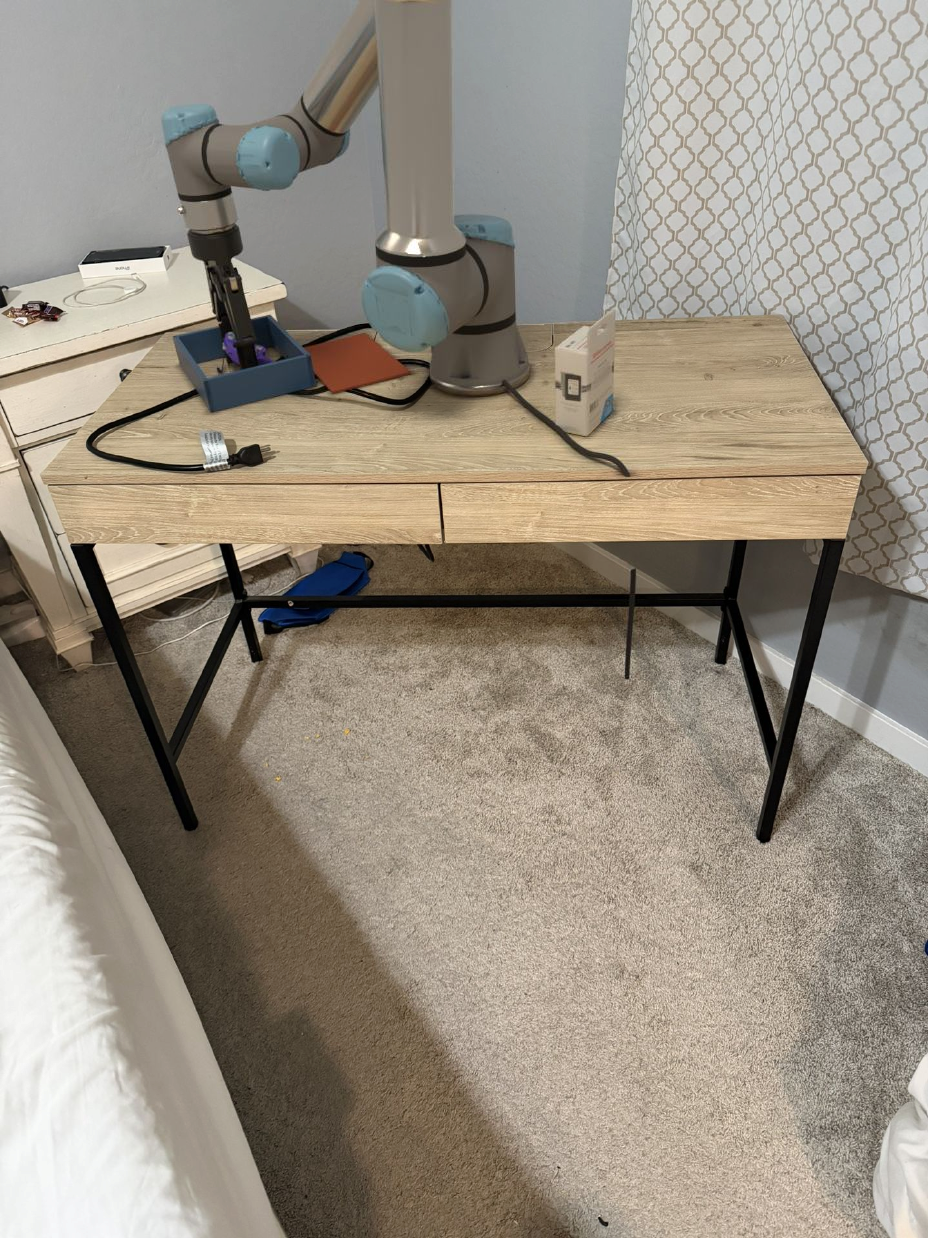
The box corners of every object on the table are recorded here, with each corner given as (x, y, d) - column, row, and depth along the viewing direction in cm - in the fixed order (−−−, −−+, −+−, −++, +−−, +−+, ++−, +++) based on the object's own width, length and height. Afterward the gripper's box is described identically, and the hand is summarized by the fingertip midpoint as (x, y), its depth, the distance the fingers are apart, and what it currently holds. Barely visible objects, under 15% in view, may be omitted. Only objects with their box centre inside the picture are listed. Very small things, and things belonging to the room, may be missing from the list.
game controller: (294, 346, 145) (241, 354, 139) (286, 391, 150) (234, 400, 144) (258, 315, 149) (205, 321, 143) (251, 360, 154) (199, 367, 148)
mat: (411, 373, 143) (410, 371, 143) (332, 393, 139) (332, 391, 139) (365, 335, 158) (364, 332, 157) (292, 352, 154) (292, 349, 153)
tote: (316, 386, 142) (310, 355, 139) (210, 412, 137) (202, 380, 134) (276, 343, 158) (270, 314, 154) (180, 365, 152) (172, 335, 149)
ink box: (581, 405, 130) (583, 301, 121) (613, 411, 128) (617, 306, 119) (553, 430, 125) (553, 323, 116) (586, 437, 122) (588, 329, 113)
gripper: (170, 214, 140) (204, 354, 154) (204, 250, 124) (239, 403, 138) (218, 205, 143) (248, 344, 156) (258, 240, 126) (287, 391, 140)
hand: (244, 372), depth 147 cm, fingers closed on game controller, 10 cm apart
